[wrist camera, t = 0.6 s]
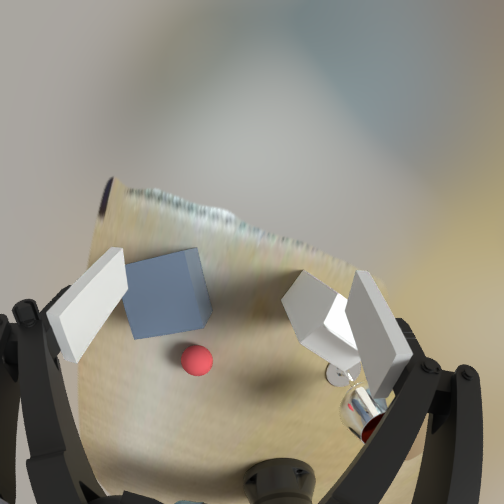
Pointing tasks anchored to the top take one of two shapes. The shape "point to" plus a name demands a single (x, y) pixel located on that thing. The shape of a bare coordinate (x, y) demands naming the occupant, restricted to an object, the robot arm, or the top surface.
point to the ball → (196, 360)
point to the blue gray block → (166, 295)
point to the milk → (321, 321)
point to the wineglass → (358, 402)
